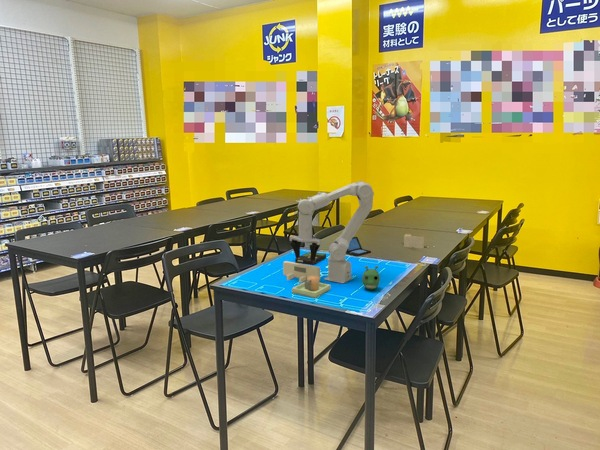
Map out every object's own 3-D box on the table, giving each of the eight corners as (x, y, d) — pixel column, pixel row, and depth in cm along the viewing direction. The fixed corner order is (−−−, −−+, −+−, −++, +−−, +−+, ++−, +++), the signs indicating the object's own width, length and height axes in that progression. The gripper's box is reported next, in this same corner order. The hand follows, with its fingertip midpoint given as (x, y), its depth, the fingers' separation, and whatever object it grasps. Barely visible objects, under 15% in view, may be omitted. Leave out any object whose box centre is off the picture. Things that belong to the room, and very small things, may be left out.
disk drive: (313, 266, 216) (326, 258, 229) (313, 261, 216) (326, 253, 229) (294, 264, 221) (308, 256, 234) (294, 258, 221) (308, 251, 233)
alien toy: (361, 292, 179) (362, 268, 177) (362, 285, 186) (362, 262, 185) (379, 293, 178) (380, 268, 176) (379, 286, 185) (380, 263, 183)
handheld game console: (356, 257, 232) (356, 243, 230) (341, 253, 239) (341, 239, 238) (372, 253, 240) (372, 239, 238) (356, 249, 248) (356, 236, 246)
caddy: (321, 288, 182) (321, 276, 181) (311, 293, 176) (311, 281, 175) (311, 286, 184) (311, 274, 183) (301, 291, 178) (301, 279, 177)
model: (404, 246, 255) (404, 233, 253) (423, 247, 252) (424, 234, 250) (403, 247, 252) (404, 234, 250) (423, 249, 249) (424, 235, 247)
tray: (330, 289, 182) (330, 284, 182) (315, 298, 172) (315, 293, 172) (307, 284, 188) (307, 280, 188) (292, 293, 178) (292, 288, 178)
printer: (320, 280, 193) (320, 267, 192) (311, 285, 188) (311, 271, 186) (285, 273, 203) (285, 261, 202) (276, 277, 197) (276, 264, 196)
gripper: (285, 227, 190) (285, 258, 193) (315, 231, 183) (315, 263, 185) (294, 225, 196) (294, 255, 199) (323, 228, 189) (323, 259, 191)
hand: (305, 259), depth 192 cm, fingers open, 7 cm apart
